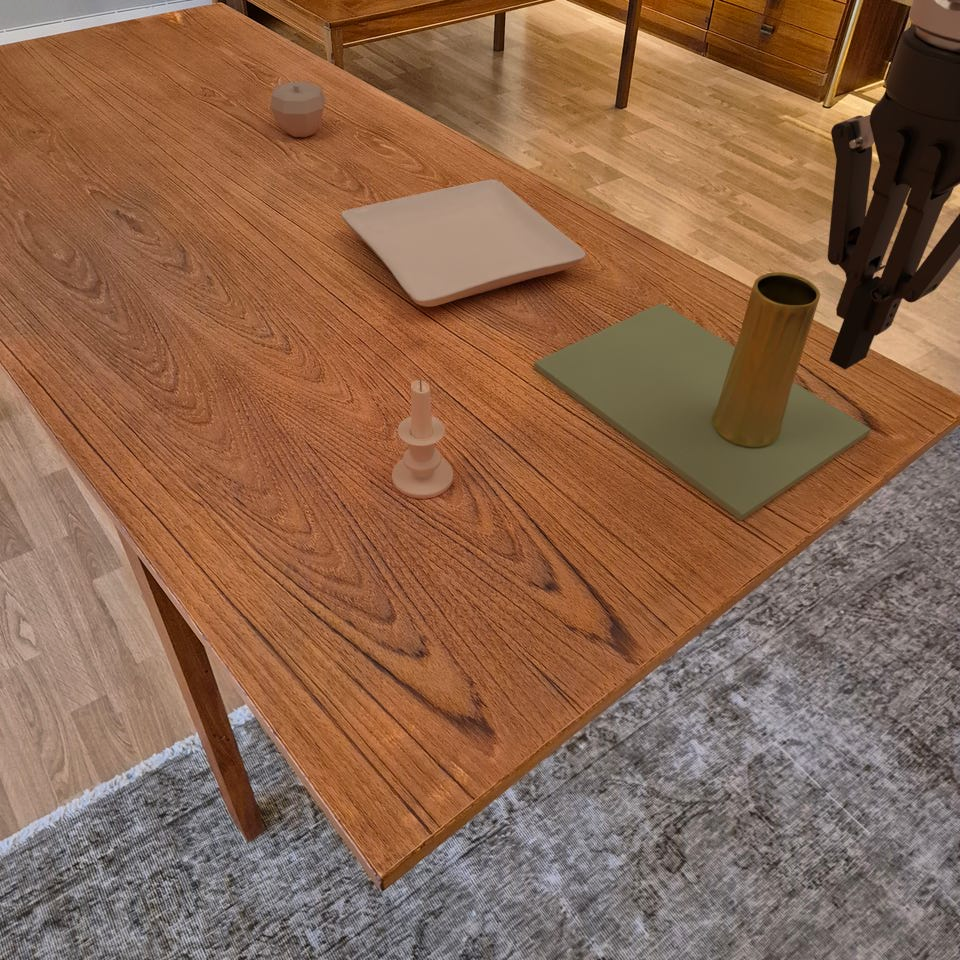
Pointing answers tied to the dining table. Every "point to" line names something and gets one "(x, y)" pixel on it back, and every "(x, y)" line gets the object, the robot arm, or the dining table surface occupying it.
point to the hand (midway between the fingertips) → (847, 358)
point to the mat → (694, 408)
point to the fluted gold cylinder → (766, 359)
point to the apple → (298, 107)
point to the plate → (462, 241)
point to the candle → (421, 450)
